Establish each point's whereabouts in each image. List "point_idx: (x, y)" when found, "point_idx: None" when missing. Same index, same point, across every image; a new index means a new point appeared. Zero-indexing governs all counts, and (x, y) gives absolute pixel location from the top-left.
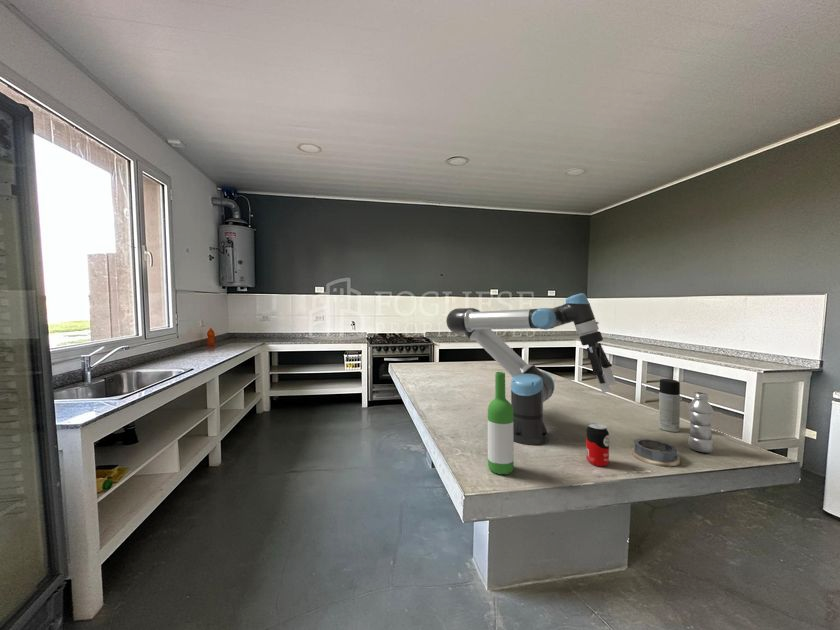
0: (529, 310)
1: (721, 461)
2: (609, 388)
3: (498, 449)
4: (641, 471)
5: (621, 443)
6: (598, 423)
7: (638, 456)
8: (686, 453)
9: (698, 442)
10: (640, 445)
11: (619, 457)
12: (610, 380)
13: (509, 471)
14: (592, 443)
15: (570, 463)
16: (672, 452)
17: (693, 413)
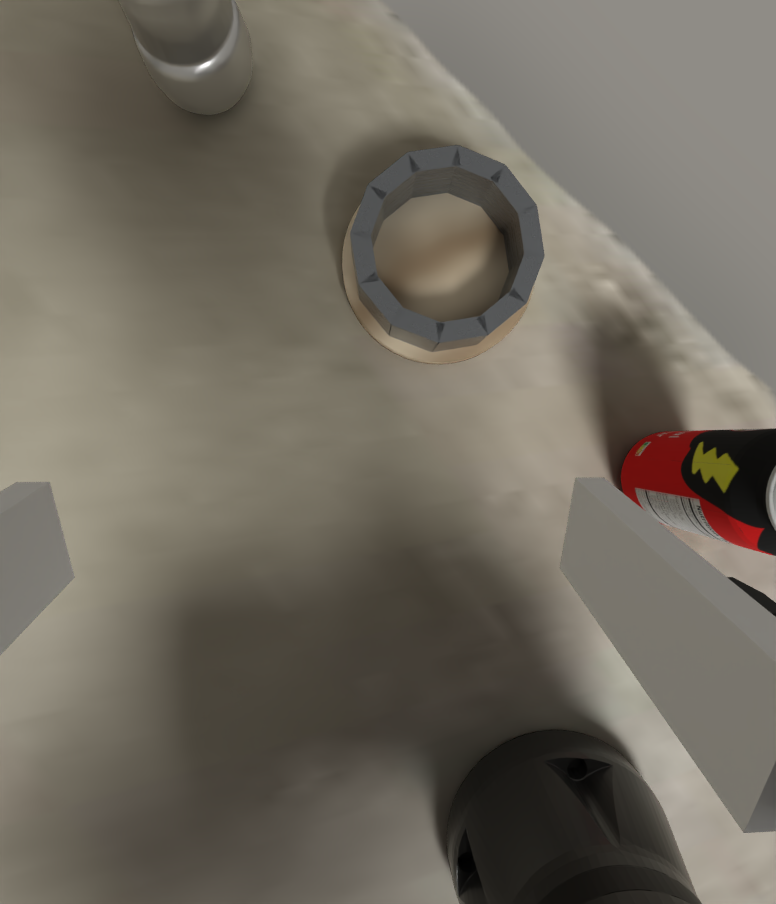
0: None
1: (299, 9)
2: (626, 496)
3: None
4: (631, 311)
5: (342, 418)
6: (769, 500)
7: (513, 327)
8: (289, 142)
9: (241, 43)
10: (496, 308)
11: (535, 404)
12: (17, 575)
13: None
14: None
15: (727, 569)
16: (501, 167)
17: None
